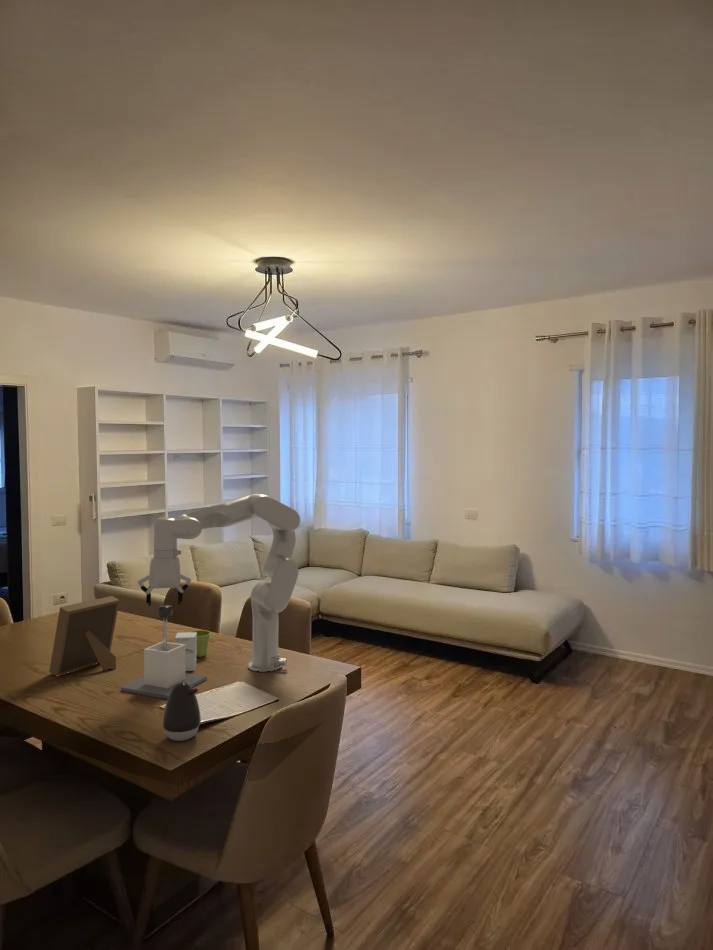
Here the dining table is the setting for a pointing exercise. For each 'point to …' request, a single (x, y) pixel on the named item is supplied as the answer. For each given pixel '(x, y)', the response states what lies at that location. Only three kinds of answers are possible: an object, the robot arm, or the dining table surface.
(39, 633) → the dining table surface
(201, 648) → the plant pot
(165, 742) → the dining table surface
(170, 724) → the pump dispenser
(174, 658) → the grey square base
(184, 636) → the supplement box
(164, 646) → the plunger
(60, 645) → the photo frame
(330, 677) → the dining table surface
